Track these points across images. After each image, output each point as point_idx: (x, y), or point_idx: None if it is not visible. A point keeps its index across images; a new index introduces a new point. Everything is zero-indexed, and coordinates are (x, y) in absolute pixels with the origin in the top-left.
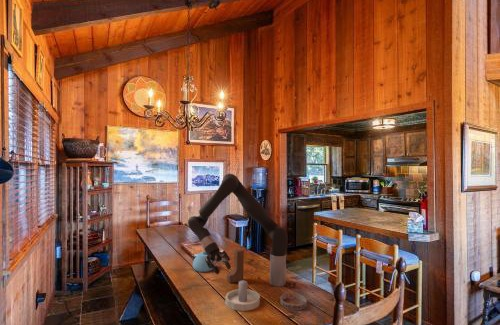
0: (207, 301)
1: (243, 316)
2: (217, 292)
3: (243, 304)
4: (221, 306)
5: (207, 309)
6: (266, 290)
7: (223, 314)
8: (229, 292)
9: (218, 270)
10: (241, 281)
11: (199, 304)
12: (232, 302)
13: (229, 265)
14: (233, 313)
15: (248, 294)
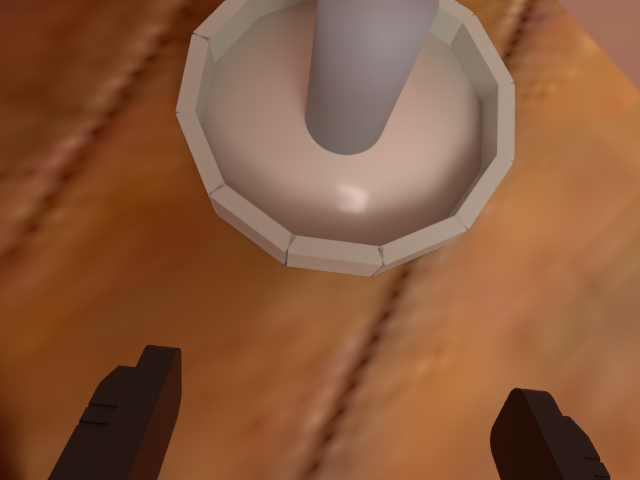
0: None
1: (514, 17)
2: (324, 459)
3: (475, 19)
4: (516, 231)
5: (630, 297)
6: (3, 63)
7: (592, 144)
8: (368, 251)
9: (552, 417)
10: (374, 19)
11: (626, 424)
12: (510, 109)
13: (142, 387)
14: (531, 93)
15: (215, 131)
